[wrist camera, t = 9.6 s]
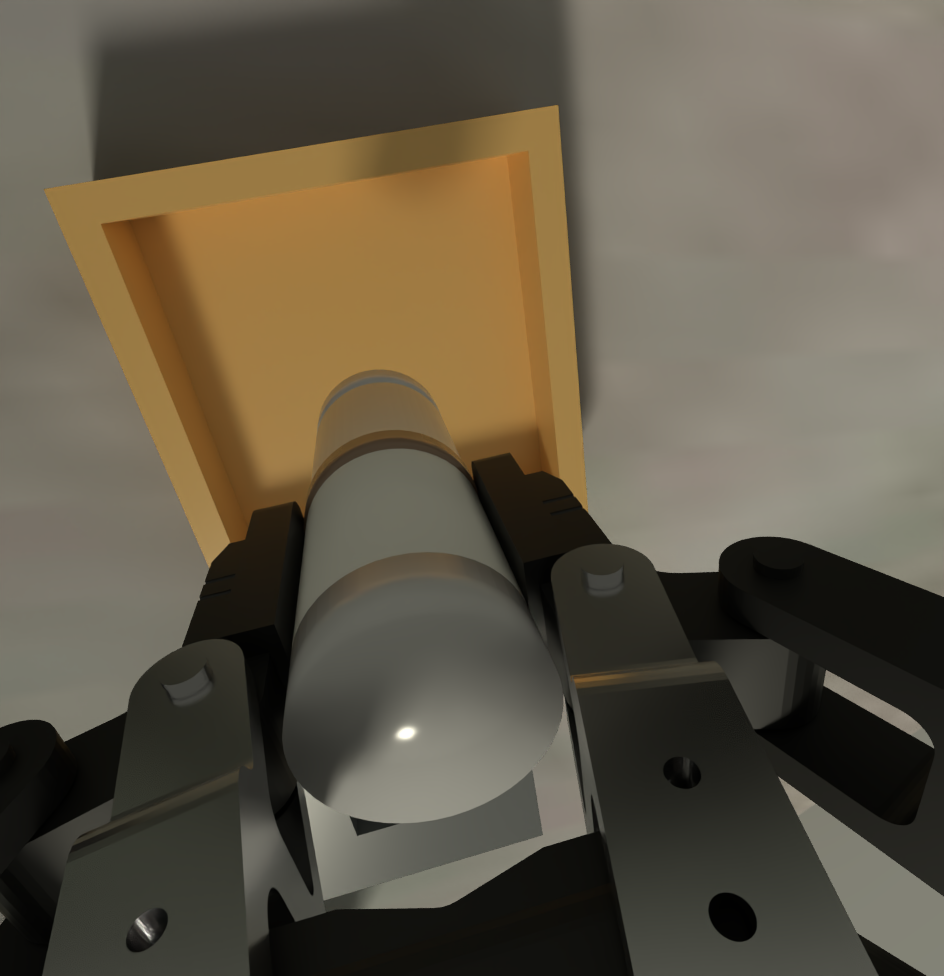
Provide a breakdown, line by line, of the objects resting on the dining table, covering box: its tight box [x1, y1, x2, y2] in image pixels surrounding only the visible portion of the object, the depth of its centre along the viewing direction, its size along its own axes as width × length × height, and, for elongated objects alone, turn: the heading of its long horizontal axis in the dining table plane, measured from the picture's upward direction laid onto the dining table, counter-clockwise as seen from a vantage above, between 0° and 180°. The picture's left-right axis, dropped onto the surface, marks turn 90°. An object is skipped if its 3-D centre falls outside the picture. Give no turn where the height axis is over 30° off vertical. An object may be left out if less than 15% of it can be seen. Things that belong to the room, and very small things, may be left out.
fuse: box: [282, 370, 563, 823], centre depth 11 cm, size 3×3×10 cm
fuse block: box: [303, 770, 543, 900], centre depth 28 cm, size 12×12×5 cm
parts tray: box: [44, 105, 588, 568], centre depth 21 cm, size 14×14×4 cm
